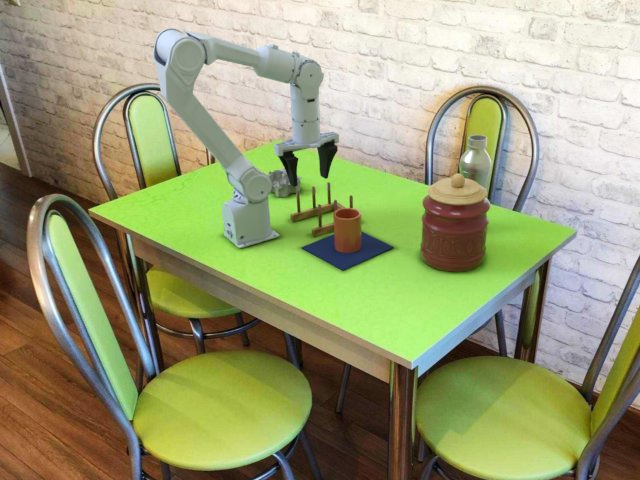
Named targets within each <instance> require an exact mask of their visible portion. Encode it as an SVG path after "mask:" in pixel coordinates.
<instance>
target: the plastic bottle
mask: <svg viewBox="0 0 640 480" xmlns="http://www.w3.org/2000/svg"><path fill="white" fill-rule="evenodd" d="M487 143H488V137H487V136H486V135H483V134H472V135H469V136H468V140H467V144H466V145H467V150H466V151H464V153H463V154H462V155H461V156H460V159H459V161H458V163H459V164H458V167H459V174H462V175H463V176H464V178H466V179H470V180H473V181H475V182H477V183H478V184H479V185H481V186H482V187H484V188H485V189H486V190H487V188H488V182H489V177H490V173H491V170H492V169H491V168H492V158H491V157H490V155H489V153H488V151H487V150H486V149H487V148H488V144H487Z"/></svg>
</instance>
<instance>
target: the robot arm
mask: <svg viewBox="0 0 640 480" xmlns="http://www.w3.org/2000/svg"><path fill="white" fill-rule="evenodd" d="M151 56H152V60H153V62H154V64H155V68H156V74H157V78H158V84H159V89H160V94H161V97H162V98H163V100H164V101H165V102H166V103H167V104H168V105H169V106H170V108H171V109H172V110H173V112H175V114H176V115H177V116H178V117H179V118H180V119H181V121H182V122H183V123H184V125H186V126H187V128H188V129H189V130H190V132H192V133H193V134H194V136H195V137H196V138H197V139H198V141H200V142H201V144H202V145H203V147H205V148H206V149H207V151H208V152H209V153H210V155H212V157H213V158H214V159H215V160H216V161H217V162H218V163H219V164H220V167H221V168H222V170H223V171H224V173H225V175H226V180H227V182H228V184H229V185H230V186H231V187H232V188H233V190H232V198H230V200H228V201H225V202H224V203H222V205H221V214H222V215H221V216H222V222H223V230H224V232H223V236H224V237H226V238H227V239H228V240H229V241H230V242H231V243H233V245H235V246H236V247H237V248H239V249H243V248H247V247H249V246H254V245H256V244H260V243H262V242H267V241H270V240H273V239H277V238H279V237H280V234H279V233H278V232H276V231H275V230H274V229H273V228H272V225H271V213H270V203H269V196H270V194H271V193H270V192H271V189H272V182H271V179H270V177H269V176H268V174H267V173H265V172H264V171H262V170H261V169H259V168H258V167H256V166H255V165H254V164H253V163H252V162H251V161H250V160H249V159H248V158H247V157H246V156H245V155H244V154H243V152H241V150H240V149H239V148H238V147H237V145H236V144H235V143H234V142H233V140H232V139H231V138H230V136H229V135H228V134H227V133H226V132H225V130H224V129H222V127H221V126H220V124H218V122H217V121H216V120H215V118H213V116H212V115H211V114H210V112H209V111H208V110H207V109H206V107H205V106H204V105H203V104H202V103H201V101H200V100H199V99H198V98H197V97H196V95H195V94H194V87H195V82H196V81H197V79H198V77H199V75H200V73H201V71H202V69H203V67H204V65H205V66H210V65H212V64H213V63H215V61H217V60H218V61H219V60H220V61H223V62H228V63H233V64H237V65H241V66H246V67H250V68H252V69H253V71H254V73H255V75H257V77H260V78H263V79H268V80H272V81H276V82H279V83H283V84H289V93H290V111H291V127H292V137H291V138H289V139H287V140H284V141H282V142H279V143H275V144H273V152H274V154H275V155H276V156H277V157H278V159H279V161H280V162H281V163H282V166H283V168H284V169H285V170H286V173H287V175H288V179H289V182H290V184H291V185H292V186H294V187H295V186H297V177H298V163H299V157H297V156H295V155H296V154H295V153H294V152H299V151H303V150H308V149H316V150H317V154H318V155H317V156H318V162H319V175H320V177H322V178H323V179H325V180H327V179H329V174H330V170H331V166H332V164H333V161H334V159H335V156H336V155H337V152H338V148H339V147H338V145H336V144H339V143H340V134H339V133H338V132H337V131H330V132H321V113H320V88H321V87H320V86H321V85H322V83H323V81H324V77H325V73H324V72H322V67H321V66H320V64H319V63H318V62H317V61H316V60H314V59H311V58H309V57H307V56H305V55H302V54H300V52H299V51H295V50H293V51H292V52H291V51H287V50H284V49H279V45H277V44H274V43H271V42H270V43H269V44H268V45H266V44H263V45H261V46H259V47H257V48H256V49H253V48H251V47H247V46H244V45H241V44H239V43H235V42H232V41H229V40H226V39H222V38H219V37H216V36H213V35H210V34H206V33H201V32H195V31H190V30H183V31H181V30H180V29H177V28H174V27H168V28H165V29H163V30H161V31H160V32H159V33H158V34H157V36H156V37H155V40H154V45H153V49H152V55H151ZM263 172H264V173H263Z"/></svg>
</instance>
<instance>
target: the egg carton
mask: <svg viewBox="0 0 640 480" xmlns="http://www.w3.org/2000/svg"><path fill="white" fill-rule="evenodd" d="M262 172H263V173H265V172H264V171H262ZM267 175H268V176H269V177H270V179H271V182H272V189H271V192H270V194H273V193H275V196H276V197H277V198H287V197H289V194H296V191H297V190H298V191H299V193H300V191H301V188H302V187H301V186H302V185H301V180H302V179H303V176H301V177H300V176H297V186H295V187H294V186H292V185H291V184H290V182H289V179H288V175H287V173H286V170H285V168H284V167H283V168H279V169H274V171H268V174H267Z"/></svg>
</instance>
